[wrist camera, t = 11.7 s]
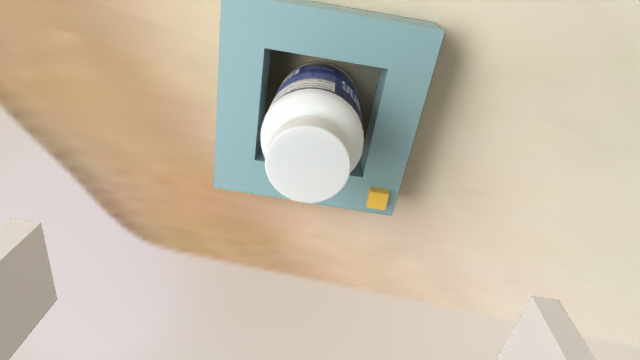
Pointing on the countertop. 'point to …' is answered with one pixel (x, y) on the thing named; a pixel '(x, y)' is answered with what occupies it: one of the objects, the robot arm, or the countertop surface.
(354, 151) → the pill bottle
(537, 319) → the robot arm
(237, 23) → the frame
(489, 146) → the countertop surface
